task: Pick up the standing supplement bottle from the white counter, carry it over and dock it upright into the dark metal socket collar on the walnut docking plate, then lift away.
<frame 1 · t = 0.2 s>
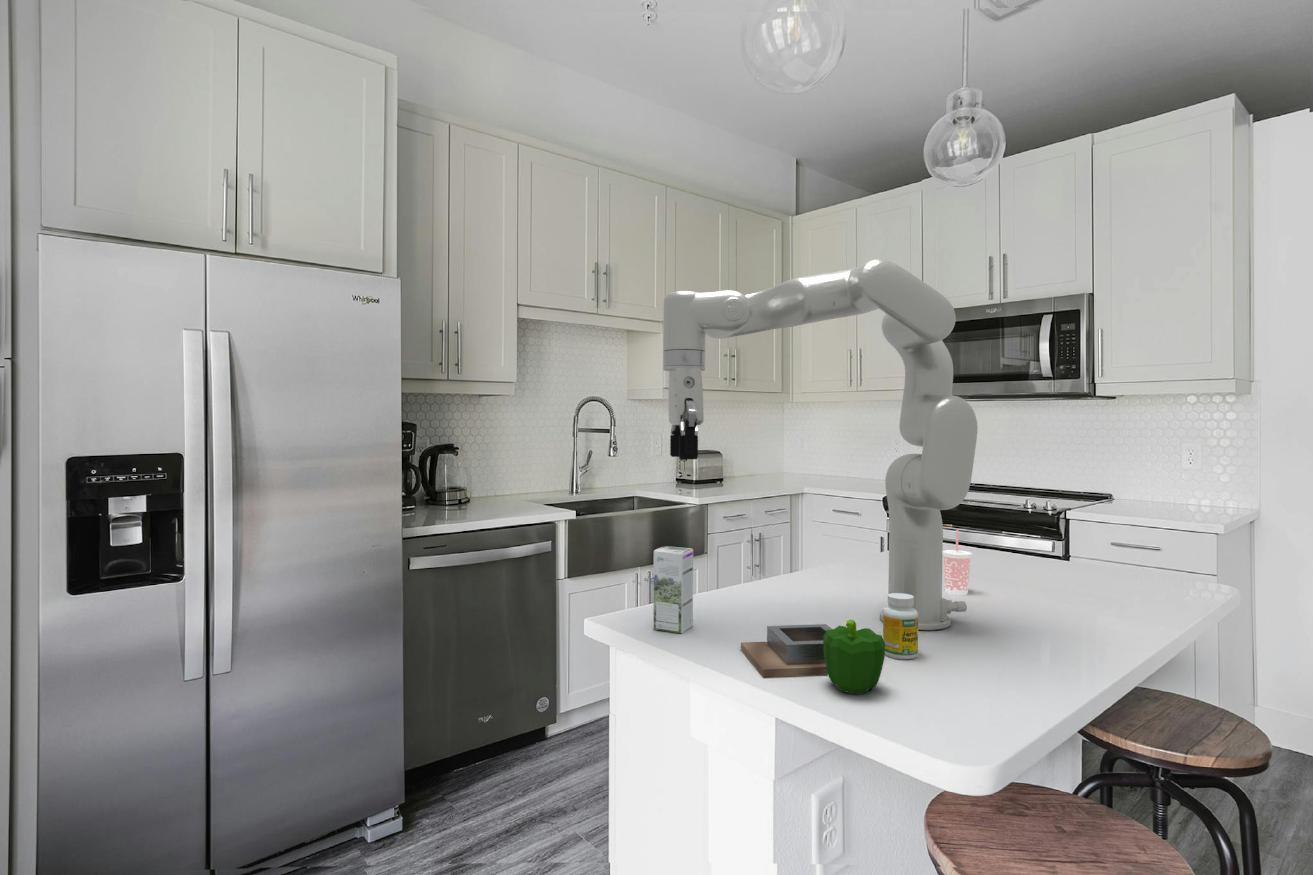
hand: (683, 457, 127), 31 cm above the counter, fingers open, 9 cm apart
syrup box: (673, 629, 129), on the counter
docking plate: (807, 660, 112), on the counter
bell pepper: (851, 688, 100), on the counter
socket collar: (807, 643, 112), on the docking plate, point 3 cm above the counter
supplement bottle: (900, 655, 115), on the counter
beverage cup: (956, 593, 158), on the counter
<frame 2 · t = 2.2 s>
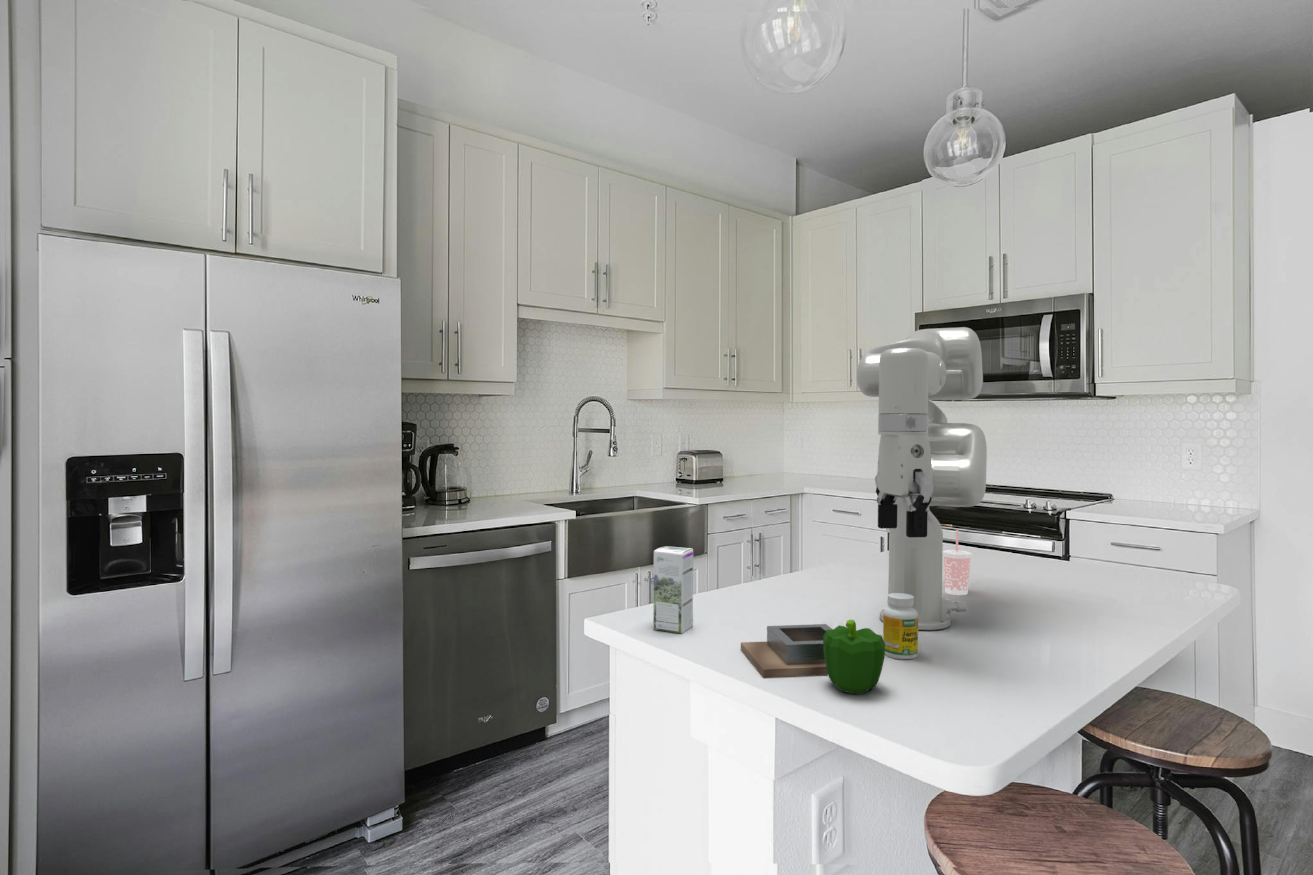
hand: (901, 532, 114), 20 cm above the counter, fingers open, 9 cm apart
nothing on the counter moved.
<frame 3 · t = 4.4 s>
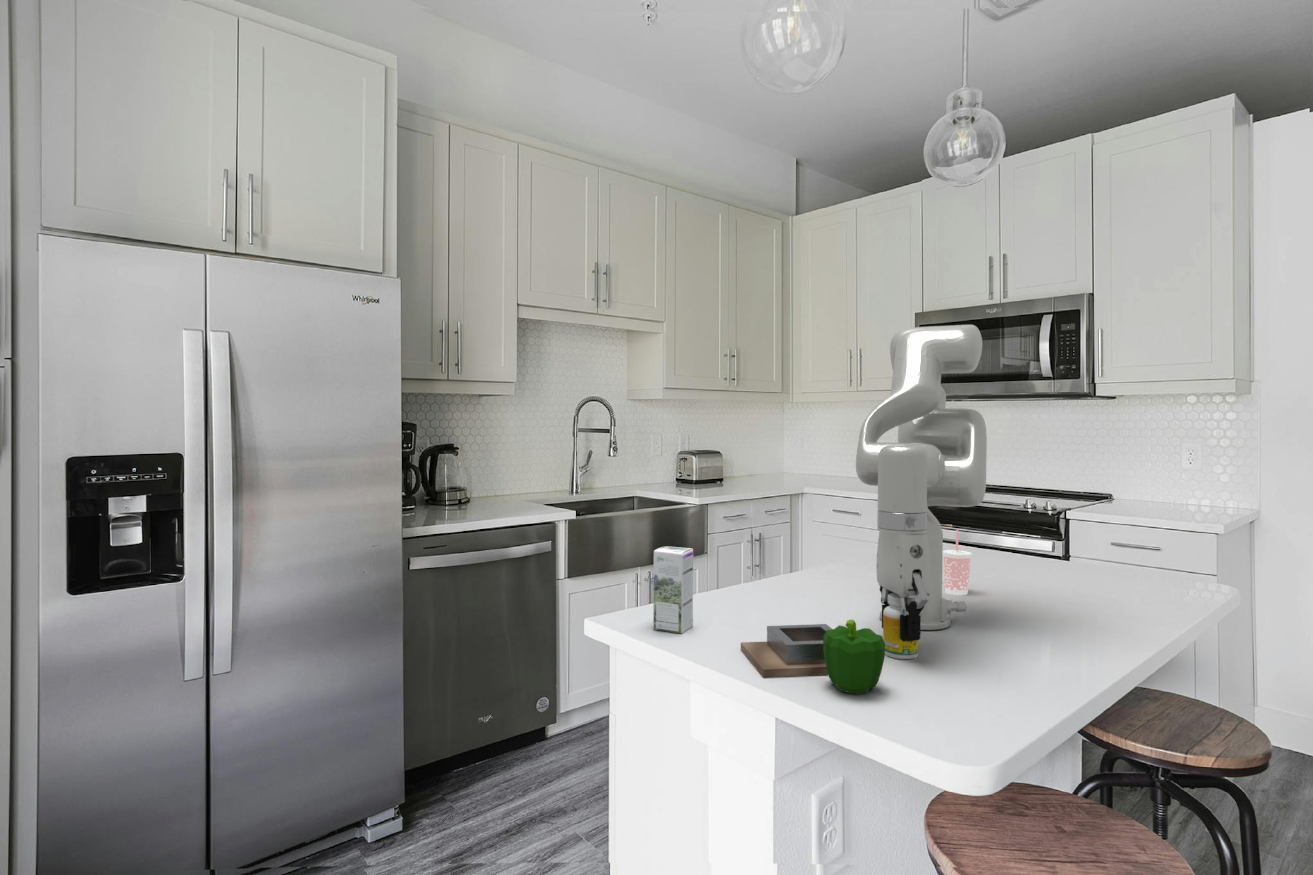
hand: (900, 633, 115), 3 cm above the counter, fingers closed on supplement bottle, 5 cm apart
supplement bottle: (900, 655, 115), on the counter, touching gripper
everything else where it was.
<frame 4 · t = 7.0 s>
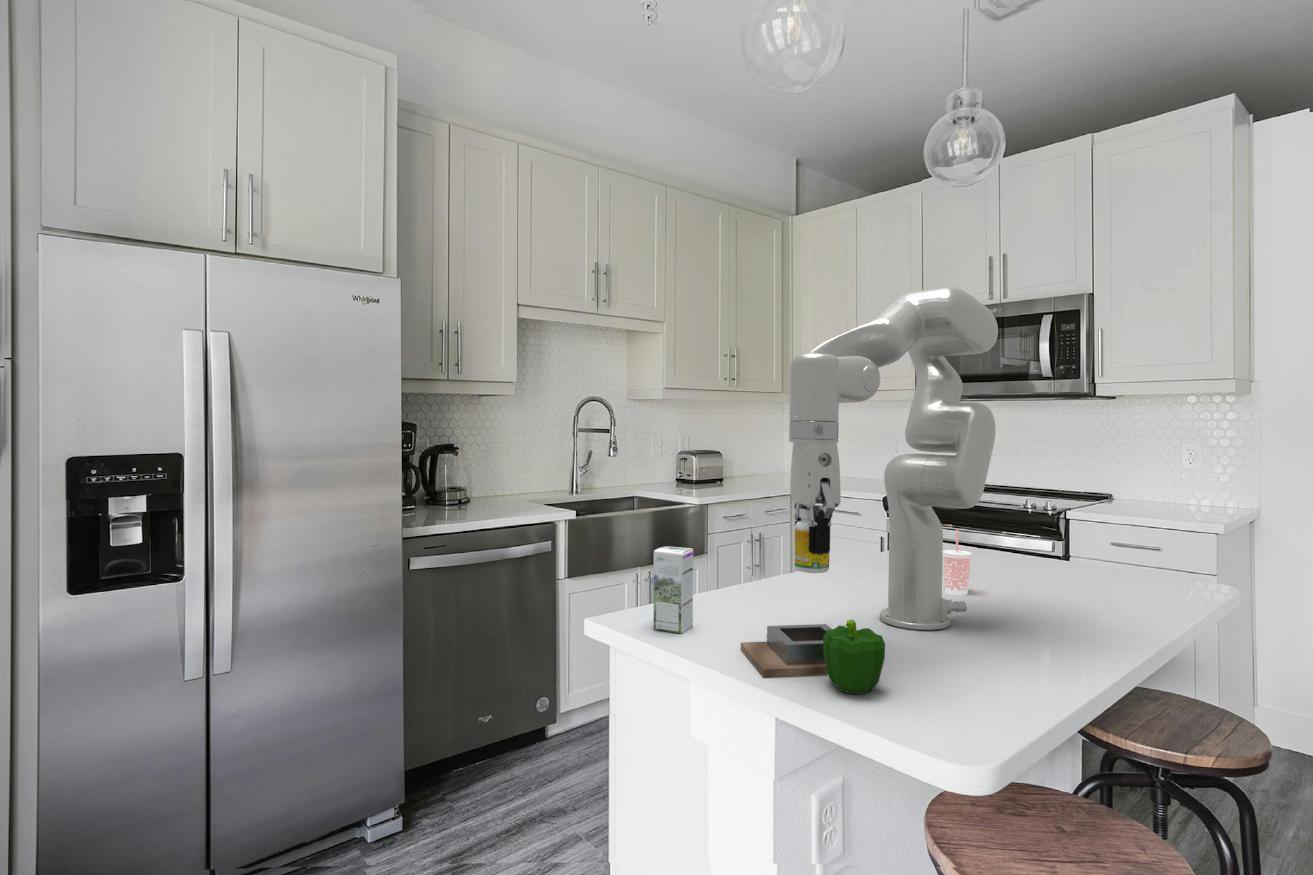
hand: (811, 547, 111), 18 cm above the counter, fingers closed on supplement bottle, 5 cm apart
supplement bottle: (811, 571, 111), point 14 cm above the counter, touching gripper
everything else where it was.
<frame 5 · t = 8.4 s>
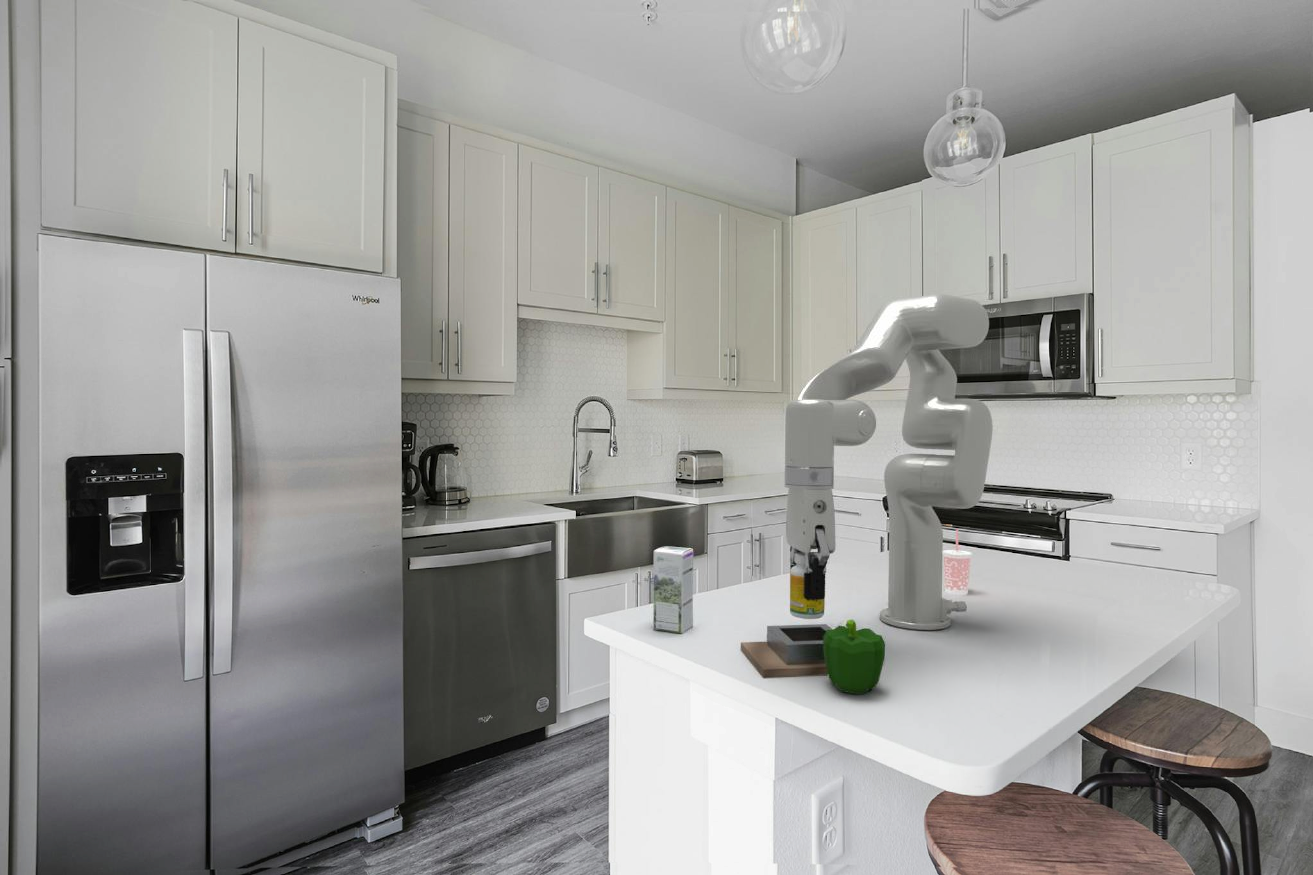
hand: (807, 592, 111), 11 cm above the counter, fingers closed on supplement bottle, 5 cm apart
supplement bottle: (806, 616, 111), point 7 cm above the counter, touching gripper
everything else where it was.
when the fingers open (6 cm above the counter, at t = 9.7 s): supplement bottle stays where it is, resting on docking plate.
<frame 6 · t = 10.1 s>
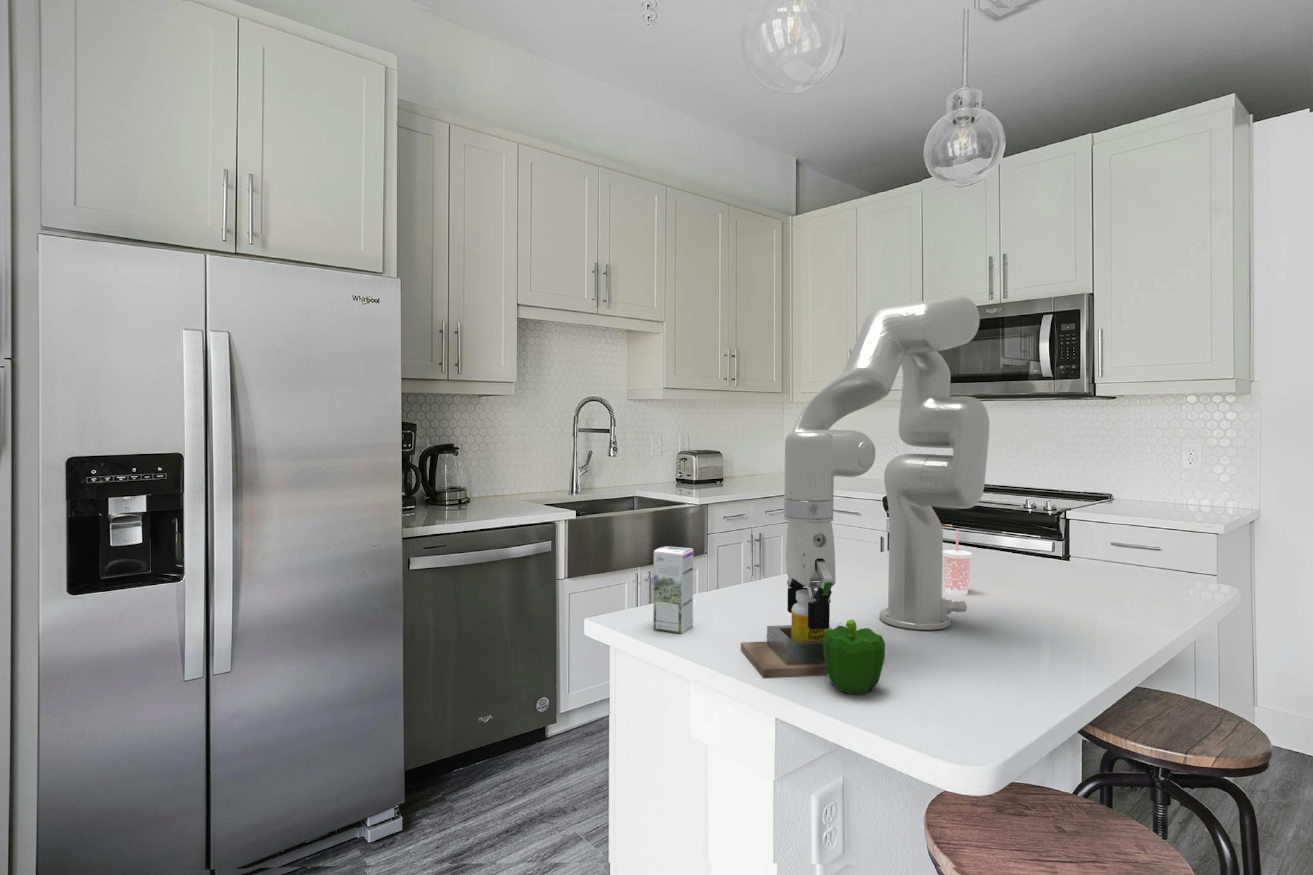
hand: (807, 619, 112), 6 cm above the counter, fingers open, 9 cm apart
supplement bottle: (808, 653, 112), point 1 cm above the counter, touching docking plate
everything else where it was.
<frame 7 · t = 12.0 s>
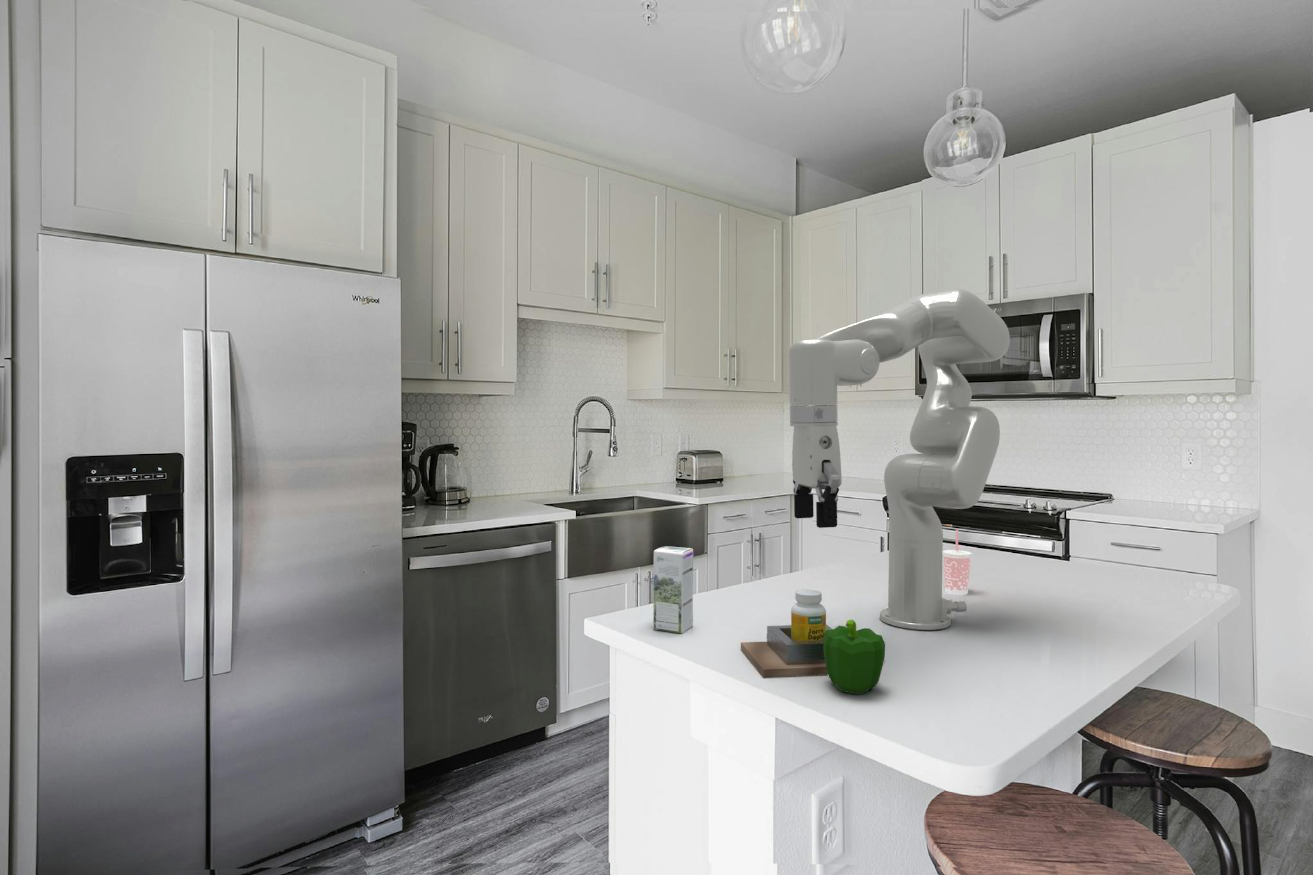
hand: (814, 522, 116), 21 cm above the counter, fingers open, 9 cm apart
nothing on the counter moved.
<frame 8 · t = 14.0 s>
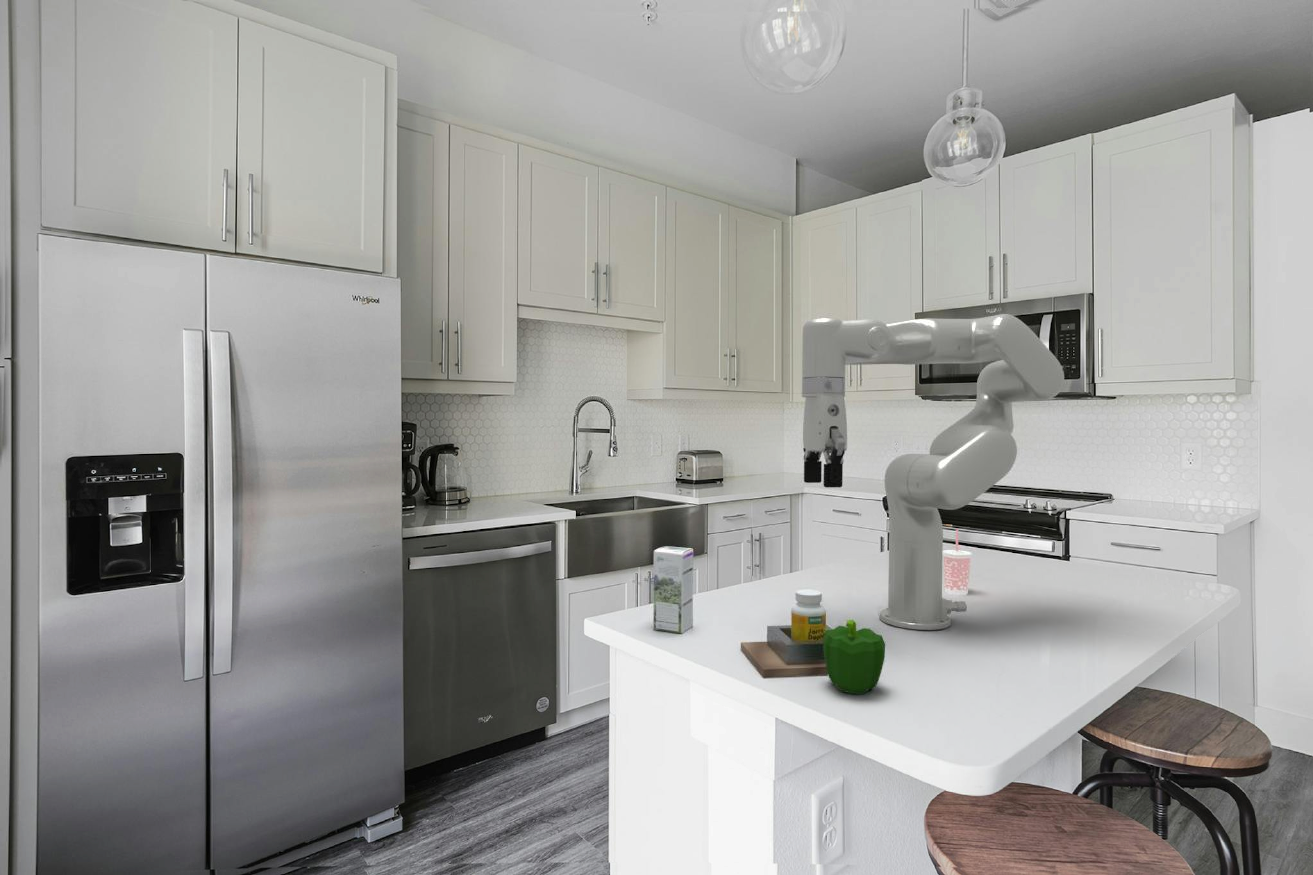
hand: (822, 484, 127), 26 cm above the counter, fingers open, 9 cm apart
nothing on the counter moved.
at the end: supplement bottle 0.2 cm off-centre on the socket collar, point 1.0 cm above the socket collar's base; supplement bottle tilted 0°; the gripper is holding nothing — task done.
